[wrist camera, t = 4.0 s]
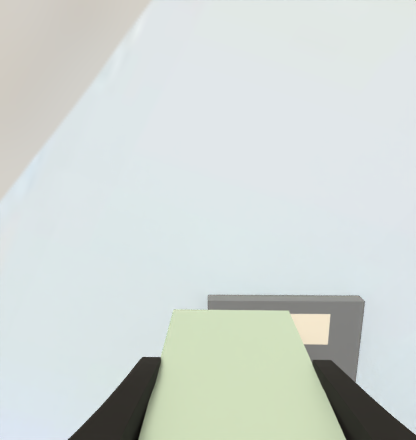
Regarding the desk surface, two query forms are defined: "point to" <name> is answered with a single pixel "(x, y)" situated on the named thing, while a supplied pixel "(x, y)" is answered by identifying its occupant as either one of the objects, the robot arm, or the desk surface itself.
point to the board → (312, 322)
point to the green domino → (237, 381)
